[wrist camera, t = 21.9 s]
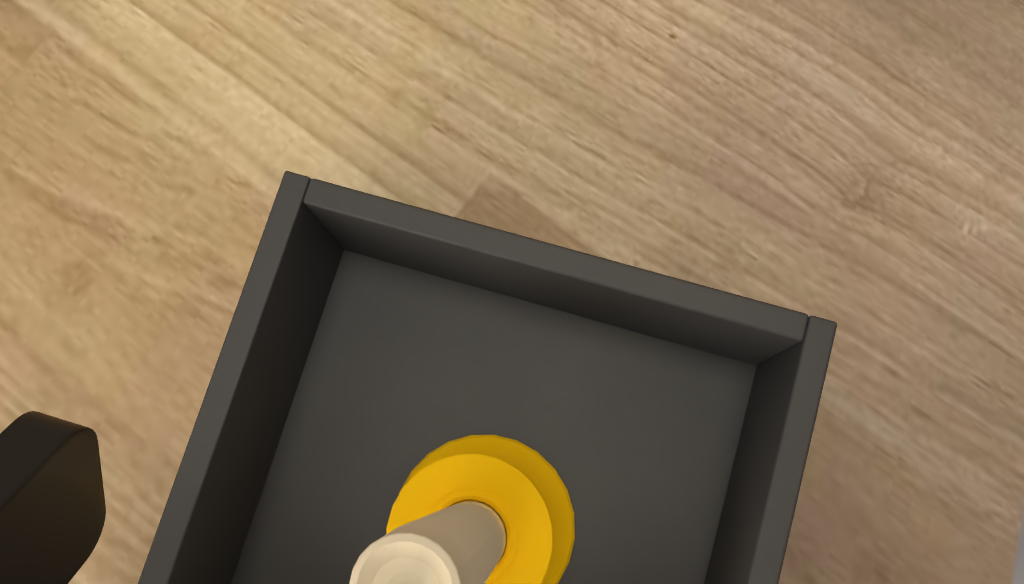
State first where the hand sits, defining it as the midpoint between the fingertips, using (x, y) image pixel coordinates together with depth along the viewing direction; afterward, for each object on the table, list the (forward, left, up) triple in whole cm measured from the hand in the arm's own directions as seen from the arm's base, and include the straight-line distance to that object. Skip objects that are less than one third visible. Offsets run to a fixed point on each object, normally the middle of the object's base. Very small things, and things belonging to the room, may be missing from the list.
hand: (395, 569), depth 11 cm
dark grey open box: (0, 0, -16) cm, 16 cm away
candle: (0, 0, -16) cm, 16 cm away
